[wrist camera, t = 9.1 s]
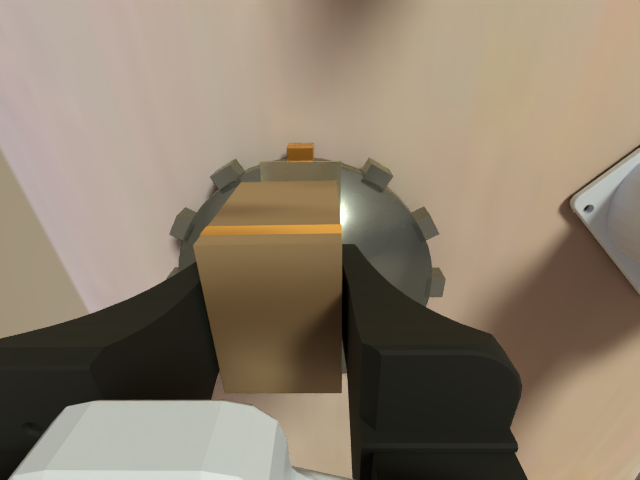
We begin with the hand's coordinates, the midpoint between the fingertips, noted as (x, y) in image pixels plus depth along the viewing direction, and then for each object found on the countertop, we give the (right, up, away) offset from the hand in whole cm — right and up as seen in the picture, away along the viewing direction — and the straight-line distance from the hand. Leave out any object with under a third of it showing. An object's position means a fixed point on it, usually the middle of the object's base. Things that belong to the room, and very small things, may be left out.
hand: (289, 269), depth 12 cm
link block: (0, +1, +1) cm, 2 cm away
